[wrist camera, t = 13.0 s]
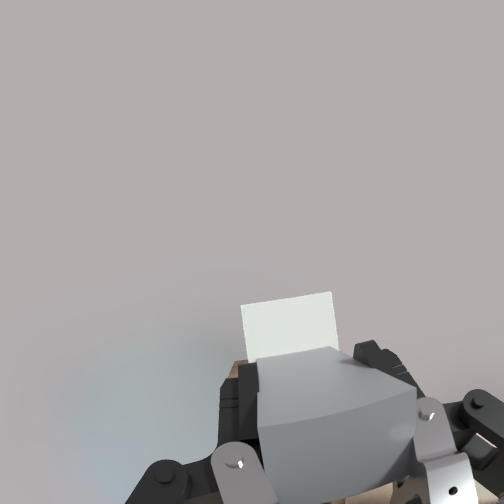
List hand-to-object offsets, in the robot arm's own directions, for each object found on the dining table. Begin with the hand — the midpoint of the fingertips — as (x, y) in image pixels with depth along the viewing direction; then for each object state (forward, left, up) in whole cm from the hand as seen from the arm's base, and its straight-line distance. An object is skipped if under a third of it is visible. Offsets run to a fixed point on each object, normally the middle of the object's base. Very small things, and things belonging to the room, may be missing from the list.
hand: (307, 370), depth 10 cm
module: (0, -6, -3) cm, 6 cm away
